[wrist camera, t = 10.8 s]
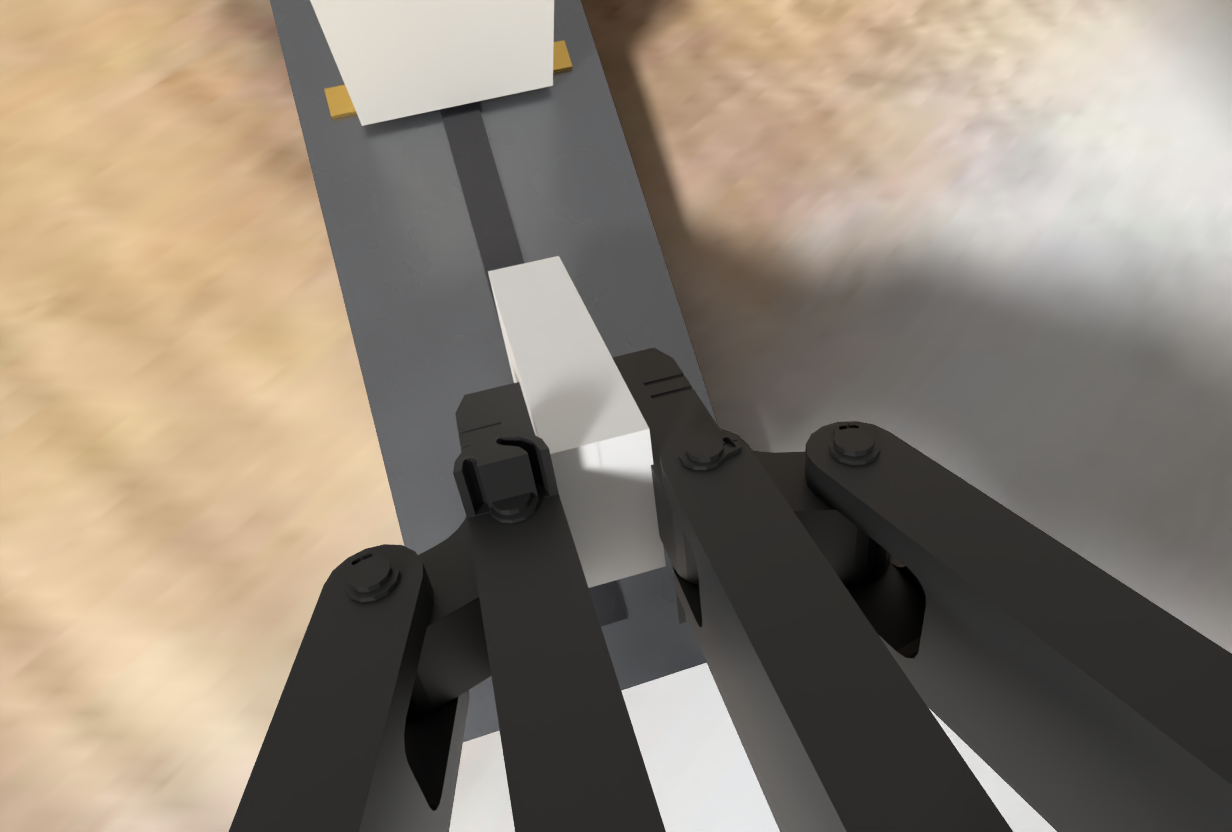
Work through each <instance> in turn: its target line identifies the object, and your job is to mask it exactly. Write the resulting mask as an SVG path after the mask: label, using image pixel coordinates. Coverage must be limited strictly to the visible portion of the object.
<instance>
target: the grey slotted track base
mask: <svg viewBox="0 0 1232 832" xmlns="http://www.w3.org/2000/svg"><path fill="white" fill-rule="evenodd" d="M270 3H271V7H272V11H273V15H274V19H275V23H276V27H277V31H278V35H279V39H280V43H281V47H282V51H283V55H284V59H285V63H286V67H287V71H288V76H289V80H290V84H291V88H292V92H293V96H294V100H295V104H296V108H297V112H298V116H299V120H300V124H301V128H302V132H303V136H304V140H305V144H306V148H307V153H308V157H309V161H310V165H311V169H312V173H313V177H314V181H315V185H316V189H317V193H318V197H319V201H320V205H321V209H322V213H323V217H324V221H325V225H326V230H327V234H328V238H329V242H330V246H331V250H332V254H333V258H334V262H335V266H336V270H337V274H338V278H339V282H340V286H341V290H342V294H343V298H344V302H345V307H346V311H347V315H348V319H349V323H350V327H351V331H352V335H353V339H354V343H355V347H356V351H357V355H358V359H359V363H360V367H361V371H362V375H363V379H364V384H365V388H366V392H367V396H368V400H369V404H370V408H371V412H372V416H373V420H374V424H375V428H376V432H377V436H378V440H379V444H380V448H381V452H382V456H383V461H384V465H385V469H386V473H387V477H388V481H389V485H390V489H391V493H392V497H393V501H394V505H395V509H396V513H397V517H398V521H399V525H400V529H401V533H402V538H403V542H404V546H405V547H407V548H409V549H411V550H414V551H415V552H416V553H417V554H418V555H419V554H421V553H423V552H425V551H427V550H429V549H431V548H432V547H434V546H436V545H438V544H439V543H441V542H442V541H444V540H446V539H447V538H448V537H450V536H451V535H452V534H453V533H454V532H455V531H456V530H457V529H458V528H459V527H460V525H461V524H462V523H463V521H464V520H465V518H466V513H465V510H464V507H463V504H462V500H461V497H460V494H459V491H458V488H457V484H456V481H455V478H454V475H453V469H454V463H455V460H456V459H457V458H458V456H459V455H460V454H461V446H460V441H459V433H458V428H457V422H456V415H455V413H456V411H457V409H458V407H459V405H460V403H461V401H462V399H463V397H464V395H466V394H470V393H475V392H479V391H483V390H487V389H491V388H495V387H500V386H504V385H508V384H512V383H514V381H513V376H512V372H511V368H510V364H509V359H508V355H507V351H506V347H505V342H504V338H503V334H502V329H501V325H500V321H499V317H498V312H497V308H496V304H495V300H494V295H493V291H492V287H491V283H490V278H489V274H488V271H492V270H496V269H501V268H506V267H510V266H515V265H519V264H524V263H528V262H533V261H538V260H542V259H547V258H551V257H556V256H559V257H560V259H561V261H562V263H563V265H564V267H565V268H566V270H567V272H568V274H569V276H570V278H571V280H572V282H573V284H574V286H575V288H576V290H577V291H578V293H579V295H580V297H581V299H582V301H583V303H584V305H585V307H586V309H587V311H588V312H589V314H590V316H591V318H592V320H593V322H594V324H595V326H596V328H597V330H598V332H599V333H600V335H601V337H602V339H603V341H604V343H605V345H606V347H607V349H608V351H609V353H610V355H611V356H612V357H616V356H620V355H625V354H629V353H633V352H637V351H641V350H645V349H650V348H656V349H658V350H659V351H661V352H663V353H665V354H667V355H669V356H670V357H672V358H674V360H675V361H676V363H677V364H678V366H679V367H680V369H681V370H682V372H683V374H684V377H685V376H686V378H687V380H688V381H689V383H690V384H691V386H692V389H694V390H695V392H696V393H697V395H698V396H699V398H700V399H701V401H702V402H703V404H704V405H705V407H706V408H707V410H708V411H709V413H710V414H711V416H712V418H713V419H714V421H715V422H716V424H717V421H716V418H715V415H714V412H713V409H712V406H711V403H710V399H709V396H708V393H707V390H706V387H705V384H704V381H703V378H702V375H701V372H700V369H699V365H698V362H697V359H696V356H695V353H694V350H693V347H692V344H691V341H690V338H689V334H688V331H687V328H686V325H685V322H684V319H683V316H682V313H681V310H680V307H679V303H678V300H677V297H676V294H675V291H674V288H673V285H672V282H671V279H670V276H669V272H668V269H667V266H666V263H665V260H664V257H663V254H662V251H661V248H660V245H659V242H658V238H657V235H656V232H655V229H654V226H653V223H652V220H651V217H650V214H649V211H648V207H647V204H646V201H645V198H644V195H643V192H642V189H641V186H640V183H639V180H638V176H637V173H636V170H635V167H634V164H633V161H632V158H631V155H630V152H629V149H628V145H627V142H626V139H625V136H624V133H623V130H622V127H621V124H620V121H619V118H618V115H617V111H616V108H615V105H614V102H613V99H612V96H611V93H610V90H609V87H608V84H607V80H606V77H605V74H604V71H603V68H602V65H601V62H600V59H599V56H598V53H597V49H596V46H595V43H594V40H593V37H592V34H591V31H590V28H589V25H588V22H587V18H586V15H585V12H584V9H583V6H582V3H581V0H554V44H553V86H549V87H544V88H539V89H534V90H530V91H525V92H520V93H516V94H511V95H506V96H501V97H497V98H492V99H487V100H482V101H478V102H473V103H468V104H463V105H459V106H454V107H449V108H444V109H440V110H435V111H430V112H425V113H421V114H416V115H411V116H406V117H402V118H397V119H392V120H387V121H383V122H378V123H373V124H368V125H364V126H362V125H361V122H360V120H359V117H358V115H357V113H356V110H355V108H354V105H353V103H352V101H351V98H350V96H349V93H348V91H347V88H346V86H345V84H344V81H343V79H342V76H341V74H340V71H339V69H338V67H337V64H336V62H335V59H334V57H333V54H332V52H331V50H330V47H329V45H328V42H327V40H326V37H325V35H324V33H323V30H322V28H321V25H320V23H319V21H318V18H317V16H316V13H315V11H314V8H313V6H312V4H311V1H310V0H270ZM717 425H718V424H717ZM663 547H664V545H663ZM664 556H665V564H666V566H665V567H661V568H658V569H654V570H651V571H647V572H644V573H640V574H637V575H633V576H629V577H626V578H622V579H619V580H615V581H612V582H608V583H605V584H601V585H597V586H594V587H590V588H589V591H590V594H591V597H592V600H593V603H594V607H595V610H596V613H597V616H598V619H599V622H600V626H601V629H602V632H603V635H604V638H605V641H606V645H607V648H608V651H609V654H610V657H611V660H612V663H613V667H614V670H615V673H616V676H617V679H618V682H619V686H620V689H621V690H624V689H627V688H630V687H633V686H636V685H639V684H642V683H645V682H648V681H651V680H654V679H657V678H661V677H664V676H667V675H670V674H673V673H676V672H679V671H682V670H685V669H688V668H691V667H694V666H697V665H700V664H703V663H706V659H705V657H704V655H703V652H702V650H701V648H700V645H699V643H698V641H697V639H696V636H695V634H694V632H693V629H692V627H691V625H690V622H689V620H688V618H687V615H686V613H685V615H686V622H684V623H681V624H679V617H678V611H677V602H676V593H675V584H674V575H673V566H672V563H671V561H670V559H669V556H668V554H667V552H666V550H665V548H664ZM469 698H470V699H469V705H468V712H467V718H466V724H465V731H464V737H463V742H465V741H468V740H471V739H474V738H478V737H481V736H484V735H487V734H490V733H493V732H496V731H499V730H500V729H499V722H498V716H497V709H496V703H495V696H494V690H493V683H492V677H491V676H490V677H489V678H487V679H485V680H484V681H482V682H481V683H479V684H477V685H476V686H474V687H473V688H471V689H469Z"/></svg>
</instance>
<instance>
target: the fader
mask: <svg viewBox="0 0 1232 832" xmlns="http://www.w3.org/2000/svg"><path fill="white" fill-rule="evenodd" d="M310 1H311V4H312V6H313V8H314V11H315V13H316V16H317V18H318V21H319V23H320V25H321V28H322V30H323V33H324V35H325V37H326V40H327V42H328V45H329V47H330V50H331V52H332V54H333V57H334V59H335V62H336V64H337V67H338V69H339V71H340V74H341V76H342V79H343V81H344V84H345V86H346V88H347V91H348V93H349V96H350V98H351V101H352V103H353V105H354V108H355V110H356V113H357V115H358V117H359V120H360V122H361V125H362V126H364V125H368V124H373V123H378V122H383V121H387V120H392V119H397V118H402V117H406V116H411V115H416V114H421V113H425V112H430V111H435V110H440V109H444V108H449V107H454V106H459V105H463V104H468V103H473V102H478V101H482V100H487V99H492V98H497V97H501V96H506V95H511V94H516V93H520V92H525V91H530V90H534V89H539V88H544V87H549V86H553V44H554V0H310Z"/></svg>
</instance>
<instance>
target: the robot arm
mask: <svg viewBox="0 0 1232 832" xmlns="http://www.w3.org/2000/svg"><path fill="white" fill-rule="evenodd" d="M488 274H489V278H490V283H491V287H492V291H493V295H494V300H495V304H496V308H497V312H498V317H499V321H500V325H501V329H502V334H503V338H504V342H505V347H506V351H507V355H508V359H509V364H510V368H511V372H512V376H513V381H514V383H512V384H508V385H504V386H500V387H495V388H491V389H487V390H483V391H479V392H475V393H470V394H466V395H464V397H463V399H462V401H461V403H460V405H459V407H458V409H457V411H456V413H455V415H456V422H457V428H458V433H459V441H460V446H461V454H460V455H459V456H458V458H457V459H456V460H455V463H454V469H453V475H454V478H455V481H456V484H457V488H458V491H459V494H460V497H461V500H462V504H463V507H464V510H465V513H466V518H465V520H464V521H463V523H462V524H461V525H460V527H459V528H458V529H457V530H456V531H455V532H454V533H453V534H452V535H451V536H450V537H448V538H447V539H446V540H444V541H442V542H441V543H439V544H438V545H436V546H434V547H432V548H431V549H429V550H427V551H425V552H423V553H421V554H419V555H418V554H417V553H416V552H415V551H414V550H411V549H409V548H407V547H405V546H402V545H385V544H384V545H380V546H376V547H372V548H368V549H365V550H363V551H361V552H359V553H357V554H355V555H353V556H351V557H349V558H347V559H346V560H345V561H344V562H343V563H341V564H340V565H339V566H338V567H337V568H336V569H334V570H333V571H332V573H331V575H330V576H329V578H328V579H327V581H326V583H325V584H324V586H323V589H322V591H321V594H320V596H319V599H318V602H317V604H316V607H315V609H314V612H313V614H312V617H311V620H310V622H309V625H308V627H307V630H306V633H305V635H304V638H303V640H302V643H301V646H300V648H299V651H298V653H297V656H296V659H295V661H294V664H293V666H292V669H291V672H290V674H289V677H288V679H287V682H286V685H285V687H284V690H283V692H282V695H281V697H280V700H279V703H278V705H277V708H276V710H275V713H274V716H273V718H272V721H271V723H270V726H269V729H268V731H267V734H266V736H265V739H264V742H263V744H262V747H261V749H260V752H259V755H258V757H257V760H256V762H255V765H254V767H253V770H252V773H251V775H250V778H249V780H248V783H247V786H246V788H245V791H244V793H243V796H242V799H241V801H240V804H239V806H238V809H237V812H236V814H235V817H234V819H233V822H232V825H231V827H230V830H229V832H449V827H450V820H451V814H452V808H453V801H454V795H455V788H456V782H457V776H458V769H459V763H460V756H461V750H462V744H463V737H464V731H465V724H466V718H467V712H468V705H469V699H470V698H469V689H471V688H473V687H474V686H476V685H477V684H479V683H481V682H482V681H484V680H485V679H487V678H489V677H490V676H491V677H492V683H493V690H494V696H495V703H496V709H497V716H498V722H499V729H500V735H501V742H502V748H503V755H504V761H505V768H506V774H507V781H508V787H509V794H510V800H511V807H512V813H513V820H514V826H515V832H666V831H665V828H664V825H663V822H662V818H661V815H660V812H659V809H658V806H657V803H656V799H655V796H654V793H653V790H652V787H651V784H650V780H649V777H648V774H647V771H646V768H645V765H644V761H643V758H642V755H641V752H640V749H639V746H638V743H637V739H636V736H635V733H634V730H633V727H632V724H631V720H630V717H629V714H628V711H627V708H626V705H625V701H624V698H623V695H622V692H621V689H620V686H619V682H618V679H617V676H616V673H615V670H614V667H613V663H612V660H611V657H610V654H609V651H608V648H607V645H606V641H605V638H604V635H603V632H602V629H601V626H600V622H599V619H598V616H597V613H596V610H595V607H594V603H593V600H592V597H591V594H590V591H589V588H590V587H594V586H597V585H601V584H605V583H608V582H612V581H615V580H619V579H622V578H626V577H629V576H633V575H637V574H640V573H644V572H647V571H651V570H654V569H658V568H661V567H665V566H666V564H665V556H664V548H665V550H666V552H667V554H668V556H669V559H670V561H671V563H672V566H673V575H674V584H675V593H676V602H677V611H678V617H679V624H681V623H684V622H686V615H687V618H688V620H689V622H690V625H691V627H692V629H693V632H694V634H695V636H696V639H697V641H698V643H699V645H700V648H701V650H702V652H703V655H704V657H705V659H706V662H707V664H708V666H709V668H710V671H711V673H712V675H713V678H714V680H715V682H716V685H717V687H718V689H719V692H720V694H721V696H722V698H723V701H724V703H725V705H726V708H727V710H728V712H729V715H730V717H731V719H732V722H733V724H734V726H735V728H736V731H737V733H738V735H739V738H740V740H741V742H742V745H743V747H744V749H745V751H746V754H747V756H748V758H749V761H750V763H751V765H752V768H753V770H754V772H755V775H756V777H757V779H758V781H759V784H760V786H761V788H762V791H763V793H764V795H765V798H766V800H767V802H768V804H769V807H770V809H771V811H772V814H773V816H774V818H775V821H776V823H777V825H778V828H779V830H780V832H1013V831H1012V829H1011V828H1010V827H1009V825H1008V824H1007V822H1006V821H1005V819H1004V818H1003V816H1002V815H1001V813H1000V812H999V810H998V809H997V808H996V806H995V805H994V803H993V802H992V800H991V799H990V797H989V796H988V794H987V793H986V791H985V790H984V789H983V787H982V786H981V784H980V783H979V781H978V780H977V778H976V777H975V775H974V774H973V772H972V771H971V770H970V768H969V767H968V765H967V764H966V762H965V761H964V759H963V758H962V756H961V755H960V754H959V752H958V751H957V749H956V748H955V746H954V745H953V743H952V742H951V740H950V739H949V737H948V736H947V735H946V733H945V732H944V730H943V729H942V727H941V726H940V724H939V723H938V721H937V720H936V718H935V717H934V716H933V714H932V713H931V711H930V710H929V708H930V709H931V710H932V711H933V712H934V713H935V714H936V715H937V716H938V717H939V718H940V719H941V720H942V721H943V722H944V723H945V724H946V725H947V726H948V727H949V728H950V729H951V730H952V731H953V732H955V733H956V734H957V735H958V736H959V737H960V738H961V739H962V740H963V741H964V742H965V743H966V744H967V745H968V746H969V747H970V748H971V749H972V750H973V751H974V752H975V753H976V754H977V755H978V756H979V757H980V758H982V759H983V760H984V761H985V762H986V763H987V764H988V765H989V766H990V767H991V768H992V769H993V770H994V771H995V772H996V773H997V774H998V775H999V776H1000V777H1001V778H1002V779H1003V780H1004V781H1005V782H1006V783H1007V784H1009V785H1010V786H1011V787H1012V788H1013V789H1014V790H1015V791H1016V792H1017V793H1018V794H1019V795H1020V796H1021V797H1022V798H1023V799H1024V800H1025V801H1026V802H1027V803H1028V804H1029V805H1030V806H1031V807H1032V808H1033V809H1034V810H1036V811H1037V812H1038V813H1039V814H1040V815H1041V816H1042V817H1043V818H1044V819H1045V820H1046V821H1047V822H1048V823H1049V824H1050V825H1051V826H1052V827H1053V828H1054V829H1055V830H1056V831H1057V832H1232V654H1231V653H1230V652H1228V651H1226V650H1225V649H1223V648H1222V647H1220V646H1219V645H1217V644H1216V643H1214V642H1213V641H1211V640H1209V639H1208V638H1206V637H1205V636H1203V635H1202V634H1200V633H1199V632H1197V631H1196V630H1194V629H1192V628H1191V627H1189V626H1188V625H1186V624H1185V623H1183V622H1182V621H1180V620H1179V619H1177V618H1176V617H1174V616H1172V615H1171V614H1169V613H1168V612H1166V611H1165V610H1163V609H1162V608H1160V607H1159V606H1157V605H1155V604H1154V603H1152V602H1151V601H1149V600H1148V599H1146V598H1145V597H1143V596H1142V595H1140V594H1139V593H1137V592H1135V591H1134V590H1132V589H1131V588H1129V587H1128V586H1126V585H1125V584H1123V583H1122V582H1120V581H1118V580H1117V579H1115V578H1114V577H1112V576H1111V575H1109V574H1108V573H1106V572H1105V571H1103V570H1102V569H1100V568H1098V567H1097V566H1095V565H1094V564H1092V563H1091V562H1089V561H1088V560H1086V559H1085V558H1083V557H1081V556H1080V555H1078V554H1077V553H1075V552H1074V551H1072V550H1071V549H1069V548H1068V547H1066V546H1065V545H1063V544H1061V543H1060V542H1058V541H1057V540H1055V539H1054V538H1052V537H1051V536H1049V535H1048V534H1046V533H1044V532H1043V531H1041V530H1040V529H1038V528H1037V527H1035V526H1034V525H1032V524H1031V523H1029V522H1027V521H1026V520H1024V519H1023V518H1021V517H1020V516H1018V515H1017V514H1015V513H1014V512H1012V511H1011V510H1009V509H1007V508H1006V507H1004V506H1003V505H1001V504H1000V503H998V502H997V501H995V500H994V499H992V498H990V497H989V496H987V495H986V494H984V493H983V492H981V491H980V490H978V489H977V488H975V487H974V486H972V485H970V484H969V483H967V482H966V481H964V480H963V479H961V478H960V477H958V476H957V475H955V474H953V473H952V472H950V471H949V470H947V469H946V468H944V467H943V466H941V465H940V464H938V463H937V462H935V461H933V460H932V459H930V458H929V457H927V456H926V455H924V454H923V453H921V452H920V451H918V450H916V449H915V448H913V447H912V446H910V445H909V444H907V443H906V442H904V441H903V440H901V439H899V438H898V437H896V436H895V435H893V434H892V433H890V432H889V431H886V430H884V429H882V428H880V427H878V426H875V425H872V424H867V423H862V422H856V421H855V422H837V423H833V424H830V425H827V426H823V427H821V428H820V429H818V430H817V431H816V432H814V433H813V434H811V436H810V438H809V440H808V442H807V444H806V452H787V453H767V452H759V451H753V450H751V448H750V447H749V445H748V444H747V443H746V442H745V441H744V440H742V439H741V438H740V437H739V436H738V435H736V434H733V433H731V432H728V431H725V430H721V429H720V428H719V427H718V425H717V424H716V422H715V421H714V419H713V418H712V416H711V414H710V413H709V411H708V410H707V408H706V407H705V405H704V404H703V402H702V401H701V399H700V398H699V396H698V395H697V393H696V392H695V390H694V389H692V386H691V384H690V383H689V381H688V380H687V378H686V376H685V377H684V374H683V372H682V370H681V369H680V367H679V366H678V364H677V363H676V361H675V360H674V358H672V357H670V356H669V355H667V354H665V353H663V352H661V351H659V350H658V349H656V348H650V349H645V350H641V351H637V352H633V353H629V354H625V355H620V356H616V357H612V356H611V355H610V353H609V351H608V349H607V347H606V345H605V343H604V341H603V339H602V337H601V335H600V333H599V332H598V330H597V328H596V326H595V324H594V322H593V320H592V318H591V316H590V314H589V312H588V311H587V309H586V307H585V305H584V303H583V301H582V299H581V297H580V295H579V293H578V291H577V290H576V288H575V286H574V284H573V282H572V280H571V278H570V276H569V274H568V272H567V270H566V268H565V267H564V265H563V263H562V261H561V259H560V257H559V256H556V257H551V258H547V259H542V260H538V261H533V262H528V263H524V264H519V265H515V266H510V267H506V268H501V269H496V270H492V271H488ZM663 545H664V547H663ZM685 613H686V615H685ZM927 706H928V707H929V708H928V707H927Z"/></svg>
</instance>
